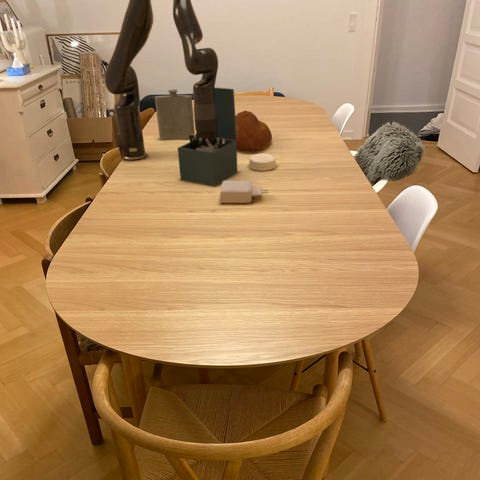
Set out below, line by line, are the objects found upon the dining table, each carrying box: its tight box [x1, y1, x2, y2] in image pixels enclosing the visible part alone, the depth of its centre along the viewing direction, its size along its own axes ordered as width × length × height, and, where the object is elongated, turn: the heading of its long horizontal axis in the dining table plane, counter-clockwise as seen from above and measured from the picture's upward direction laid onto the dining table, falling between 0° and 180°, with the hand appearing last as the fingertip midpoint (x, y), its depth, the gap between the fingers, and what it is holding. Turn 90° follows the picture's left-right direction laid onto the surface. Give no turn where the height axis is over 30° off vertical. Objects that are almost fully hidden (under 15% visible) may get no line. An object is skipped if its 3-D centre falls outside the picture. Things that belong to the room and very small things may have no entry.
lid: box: [214, 87, 237, 140], centre depth 166 cm, size 16×15×6 cm
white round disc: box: [248, 153, 277, 172], centre depth 176 cm, size 10×10×4 cm
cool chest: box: [177, 140, 238, 187], centre depth 168 cm, size 16×15×11 cm
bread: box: [225, 110, 273, 152], centre depth 199 cm, size 21×33×12 cm, turn 4°
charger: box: [220, 180, 269, 204], centre depth 152 cm, size 5×9×15 cm
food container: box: [196, 144, 218, 153], centre depth 167 cm, size 12×6×10 cm, turn 169°
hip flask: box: [154, 88, 196, 141], centre depth 205 cm, size 16×4×20 cm, turn 88°
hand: (208, 165), depth 169 cm, fingers closed on food container, 5 cm apart
